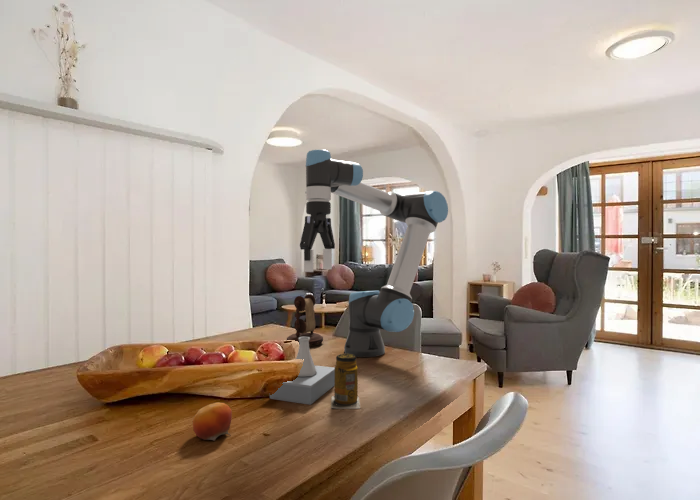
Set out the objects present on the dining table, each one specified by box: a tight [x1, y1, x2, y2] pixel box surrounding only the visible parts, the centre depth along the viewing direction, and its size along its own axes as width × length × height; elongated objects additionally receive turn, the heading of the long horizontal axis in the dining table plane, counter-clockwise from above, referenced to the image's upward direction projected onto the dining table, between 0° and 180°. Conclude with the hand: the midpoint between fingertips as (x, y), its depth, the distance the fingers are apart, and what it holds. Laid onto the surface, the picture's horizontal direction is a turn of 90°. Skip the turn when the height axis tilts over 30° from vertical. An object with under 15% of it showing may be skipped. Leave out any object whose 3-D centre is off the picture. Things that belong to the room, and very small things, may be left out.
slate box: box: [269, 364, 335, 406], centre depth 119 cm, size 17×13×5 cm
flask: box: [295, 337, 317, 377], centre depth 119 cm, size 7×7×10 cm
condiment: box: [330, 353, 361, 410], centre depth 111 cm, size 7×8×12 cm
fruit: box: [192, 401, 233, 442], centre depth 92 cm, size 8×8×8 cm
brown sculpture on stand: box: [286, 293, 324, 345], centre depth 175 cm, size 15×15×20 cm
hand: (318, 270), depth 132 cm, fingers open, 13 cm apart
